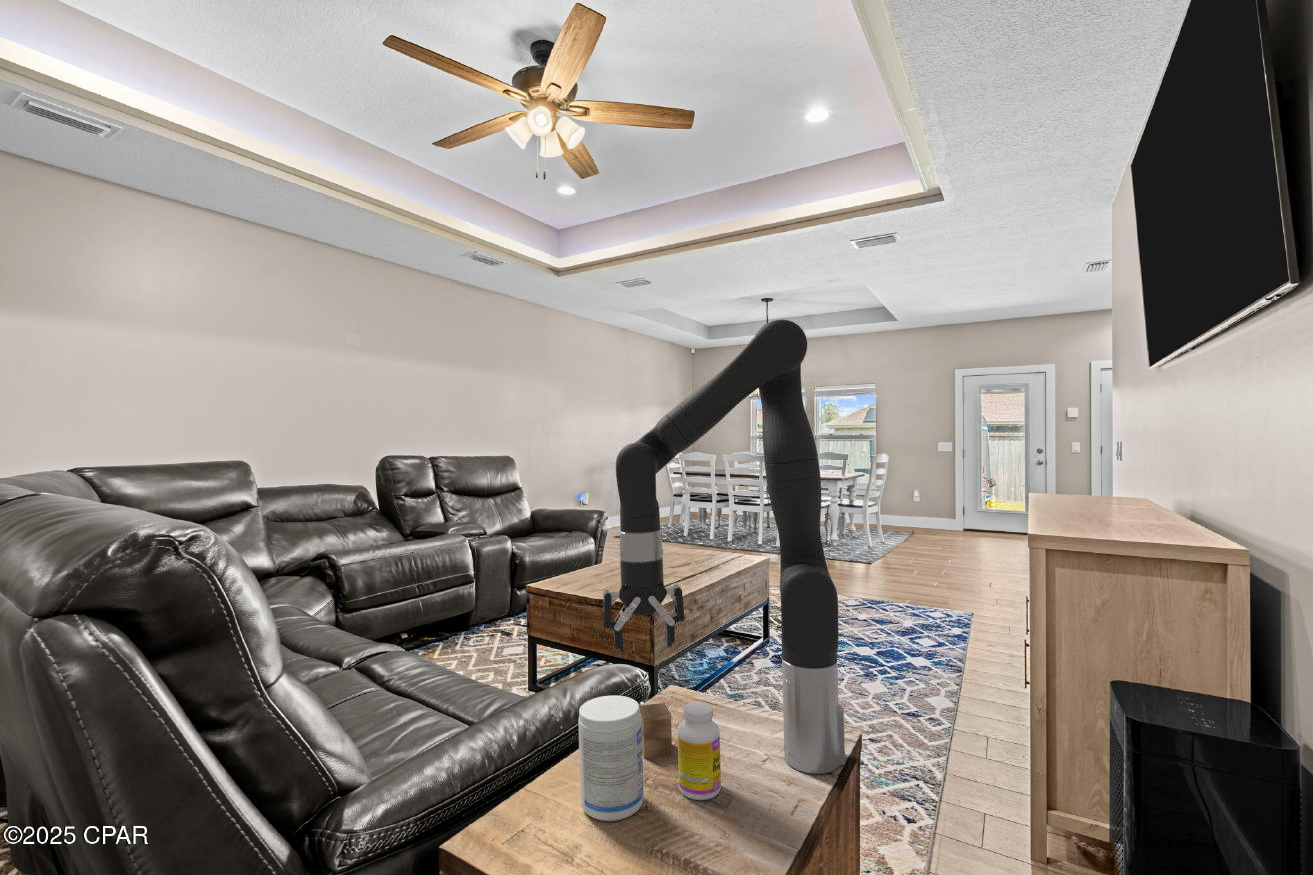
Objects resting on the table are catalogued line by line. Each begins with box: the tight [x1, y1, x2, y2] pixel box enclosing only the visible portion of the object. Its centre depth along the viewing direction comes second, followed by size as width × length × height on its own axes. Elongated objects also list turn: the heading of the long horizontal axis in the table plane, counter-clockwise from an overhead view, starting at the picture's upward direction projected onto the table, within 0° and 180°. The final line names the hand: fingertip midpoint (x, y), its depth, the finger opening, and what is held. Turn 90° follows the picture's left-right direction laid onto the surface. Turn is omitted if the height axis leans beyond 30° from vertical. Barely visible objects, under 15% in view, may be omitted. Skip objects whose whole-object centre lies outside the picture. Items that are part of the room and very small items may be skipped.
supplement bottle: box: [677, 701, 722, 801], centre depth 94 cm, size 7×7×13 cm
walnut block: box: [639, 702, 673, 759], centre depth 106 cm, size 5×5×7 cm
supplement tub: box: [578, 695, 645, 822], centre depth 90 cm, size 10×10×15 cm
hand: (644, 648), depth 104 cm, fingers open, 8 cm apart
